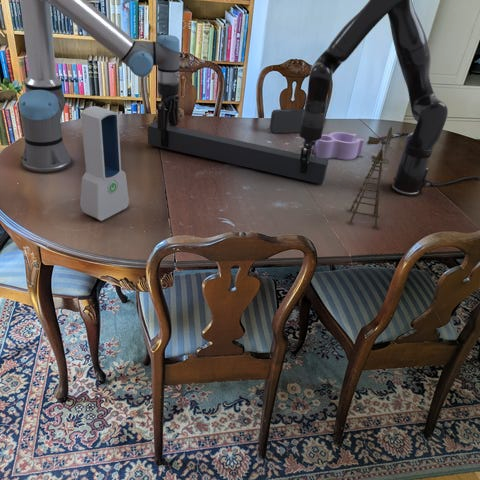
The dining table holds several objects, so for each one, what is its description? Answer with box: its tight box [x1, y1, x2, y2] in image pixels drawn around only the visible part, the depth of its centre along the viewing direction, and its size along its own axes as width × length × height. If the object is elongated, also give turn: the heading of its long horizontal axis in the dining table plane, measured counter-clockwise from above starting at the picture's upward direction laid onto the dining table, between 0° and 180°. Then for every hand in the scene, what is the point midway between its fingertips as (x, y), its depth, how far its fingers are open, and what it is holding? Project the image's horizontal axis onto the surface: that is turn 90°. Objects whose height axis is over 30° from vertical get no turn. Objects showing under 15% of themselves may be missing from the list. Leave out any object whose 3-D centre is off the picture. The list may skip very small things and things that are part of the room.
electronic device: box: [79, 105, 130, 222], centre depth 129 cm, size 12×8×30 cm, turn 148°
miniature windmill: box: [349, 126, 393, 228], centre depth 139 cm, size 9×8×30 cm
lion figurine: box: [152, 107, 185, 127], centre depth 195 cm, size 15×5×9 cm, turn 110°
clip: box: [313, 131, 366, 161], centre depth 190 cm, size 20×12×7 cm, turn 109°
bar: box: [147, 121, 329, 185], centre depth 172 cm, size 68×5×7 cm, turn 71°
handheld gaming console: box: [269, 108, 304, 134], centre depth 207 cm, size 23×3×10 cm, turn 108°
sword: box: [376, 132, 410, 141], centre depth 214 cm, size 31×3×1 cm, turn 126°
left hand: (167, 144), depth 179 cm, fingers closed on bar, 5 cm apart
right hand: (304, 169), depth 166 cm, fingers closed on bar, 5 cm apart
